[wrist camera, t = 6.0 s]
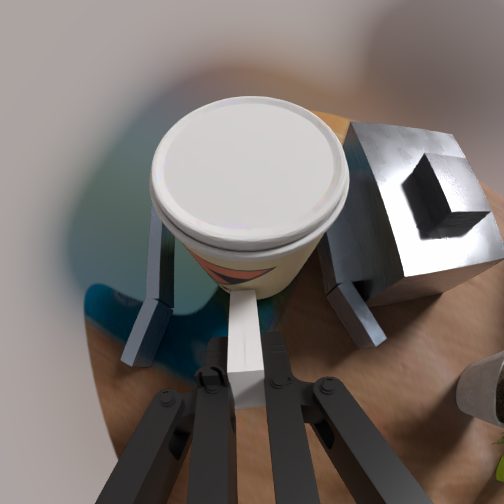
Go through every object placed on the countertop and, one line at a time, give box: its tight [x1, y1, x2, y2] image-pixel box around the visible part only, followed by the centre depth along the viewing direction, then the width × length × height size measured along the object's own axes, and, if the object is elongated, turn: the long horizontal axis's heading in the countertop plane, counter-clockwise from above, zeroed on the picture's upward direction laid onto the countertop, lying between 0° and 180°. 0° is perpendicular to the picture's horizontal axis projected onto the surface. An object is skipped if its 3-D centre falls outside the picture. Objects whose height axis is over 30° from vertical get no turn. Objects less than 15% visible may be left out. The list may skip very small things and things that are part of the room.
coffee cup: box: [150, 96, 349, 299], centre depth 17 cm, size 9×9×12 cm
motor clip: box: [120, 122, 504, 367], centre depth 17 cm, size 16×27×11 cm, turn 95°
